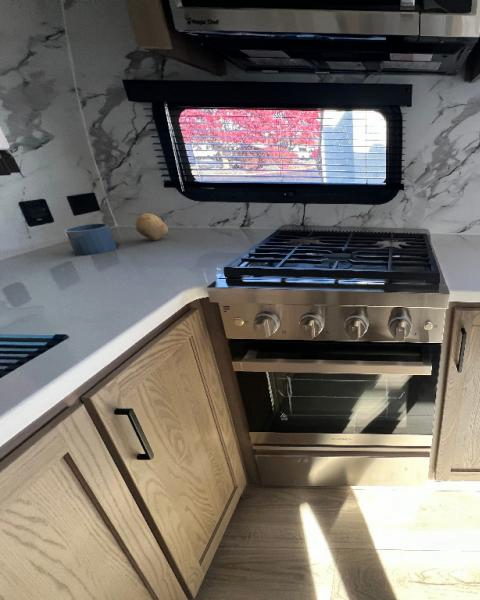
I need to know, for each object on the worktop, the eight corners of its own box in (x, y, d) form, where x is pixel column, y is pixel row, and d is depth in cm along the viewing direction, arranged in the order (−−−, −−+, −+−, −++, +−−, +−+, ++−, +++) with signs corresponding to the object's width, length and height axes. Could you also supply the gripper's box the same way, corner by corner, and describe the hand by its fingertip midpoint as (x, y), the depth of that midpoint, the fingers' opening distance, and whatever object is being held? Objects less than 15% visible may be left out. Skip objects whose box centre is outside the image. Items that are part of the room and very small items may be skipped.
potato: (136, 241, 123) (125, 214, 118) (161, 235, 130) (152, 209, 125) (149, 244, 119) (138, 216, 114) (174, 238, 126) (165, 211, 121)
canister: (73, 257, 107) (61, 233, 104) (77, 249, 115) (67, 226, 112) (116, 251, 113) (106, 227, 109) (118, 243, 121) (108, 221, 118)
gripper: (-40, 102, 86) (-2, 172, 93) (-70, 96, 73) (-24, 178, 81) (2, 103, 90) (34, 170, 97) (-21, 97, 77) (19, 175, 85)
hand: (8, 174), depth 89 cm, fingers open, 9 cm apart
